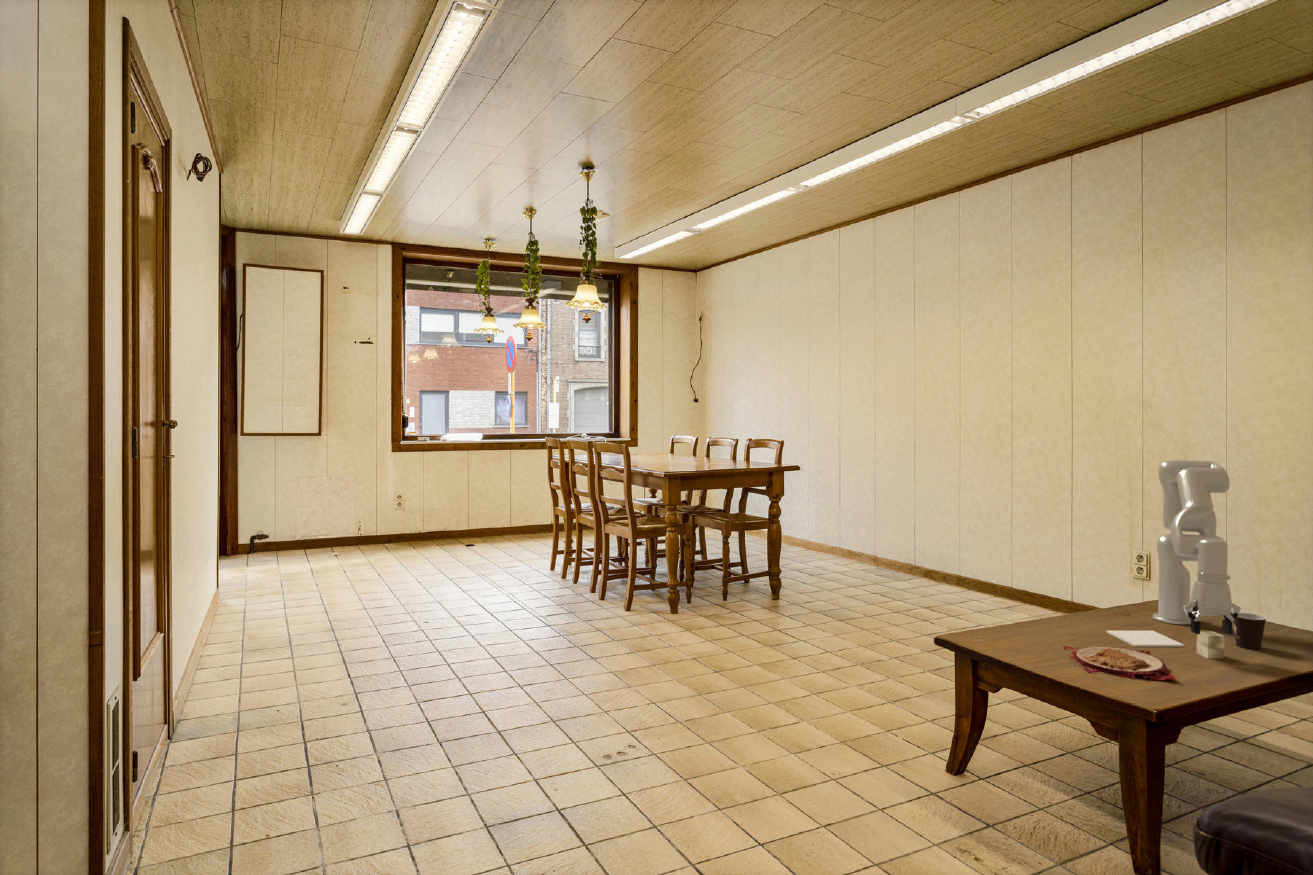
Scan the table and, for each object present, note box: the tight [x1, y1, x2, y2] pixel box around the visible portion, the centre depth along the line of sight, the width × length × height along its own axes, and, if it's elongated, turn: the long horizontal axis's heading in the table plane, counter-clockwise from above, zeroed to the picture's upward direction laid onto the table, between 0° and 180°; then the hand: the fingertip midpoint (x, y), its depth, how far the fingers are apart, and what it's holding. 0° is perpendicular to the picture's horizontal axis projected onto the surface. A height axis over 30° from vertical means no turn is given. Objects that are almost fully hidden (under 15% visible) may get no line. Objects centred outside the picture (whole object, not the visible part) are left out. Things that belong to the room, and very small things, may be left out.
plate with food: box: [1062, 645, 1178, 681], centre depth 233 cm, size 25×26×4 cm
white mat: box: [1106, 630, 1185, 648], centre depth 258 cm, size 16×16×1 cm
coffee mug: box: [1233, 612, 1267, 651], centre depth 250 cm, size 12×9×10 cm
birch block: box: [1196, 630, 1225, 659], centre depth 240 cm, size 5×5×7 cm
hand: (1211, 633), depth 240 cm, fingers open, 9 cm apart
